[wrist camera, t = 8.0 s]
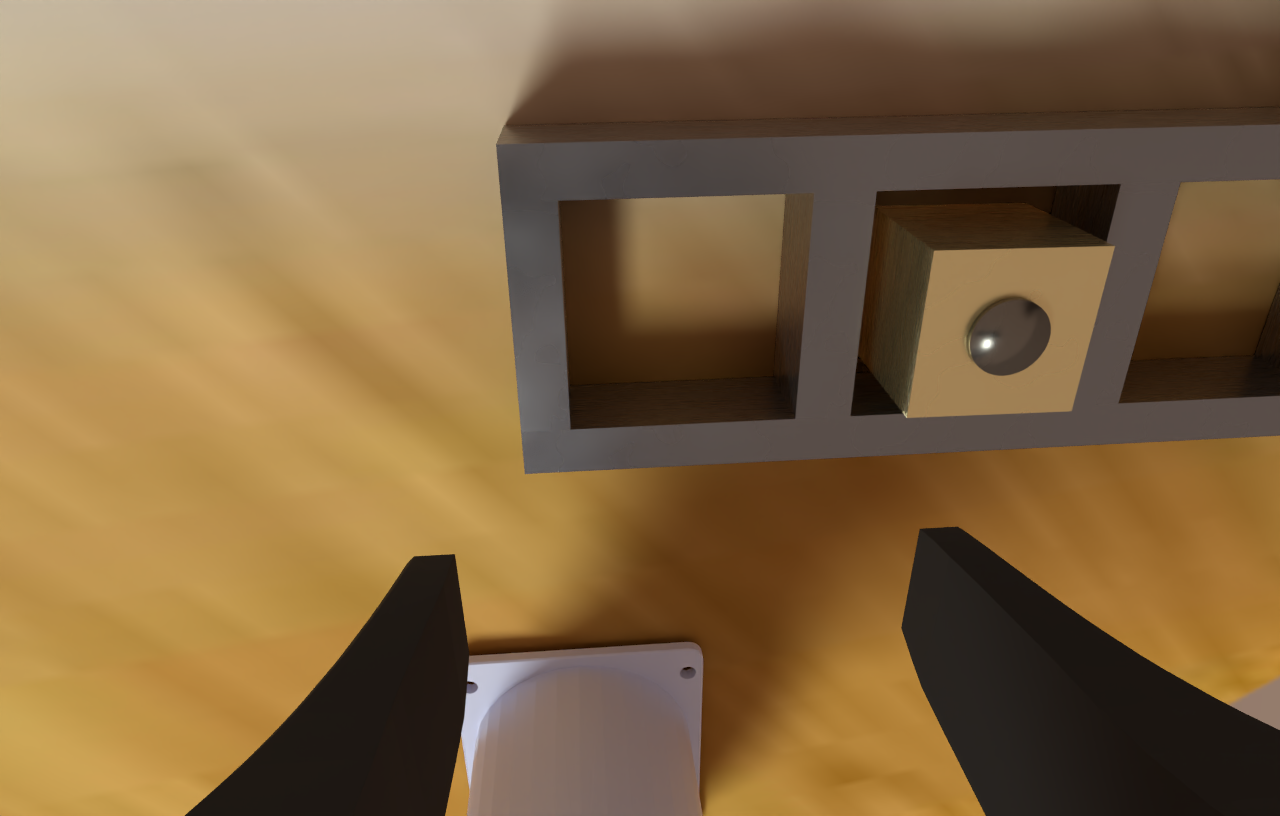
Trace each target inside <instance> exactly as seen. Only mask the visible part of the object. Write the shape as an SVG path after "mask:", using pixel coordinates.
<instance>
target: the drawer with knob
mask: <svg viewBox="0 0 1280 816" xmlns="http://www.w3.org/2000/svg"><path fill="white" fill-rule="evenodd" d="M1114 248H1115V246H1114V245H1112V244H1110V243H1108V242H1106V241H1104V240H1102V239H1100V238H1097V237H1095V236H1093V235H1091V234H1089V233H1087V232H1085V231H1083V230H1081V229H1079V228H1077V227H1075V226H1073V225H1071V224H1069V223H1067V222H1064V221H1062V220H1060V219H1058V218H1056V217H1054V216H1052V215H1050V214H1048V213H1046V212H1044V211H1042V210H1040V209H1038V208H1036V207H1033V206H1031V205H1029V204H1027V203H993V204H946V205H900V206H875V211H874V220H873V228H872V237H871V245H870V254H869V262H868V271H867V279H866V288H865V296H864V305H863V313H862V322H861V330H860V339H859V347H858V356H859V357H860V359H861V360H862V361H863V362H864V364H865V365H866V366H867V368H868V369H869V370H870V371H871V373H872V374H873V375H874V377H875V378H876V379H877V380H878V382H879V383H880V384H881V385H882V387H883V388H884V389H885V391H886V392H887V393H888V394H889V396H890V397H891V398H892V400H893V401H894V402H895V403H896V405H897V406H898V407H899V409H900V410H901V411H902V412H903V414H904V415H905V416H906V418H918V417H943V416H968V415H992V414H1017V413H1042V412H1067V411H1072V407H1073V404H1074V400H1075V396H1076V392H1077V389H1078V385H1079V381H1080V377H1081V373H1082V370H1083V366H1084V362H1085V358H1086V354H1087V351H1088V347H1089V343H1090V339H1091V335H1092V332H1093V328H1094V324H1095V320H1096V316H1097V313H1098V309H1099V305H1100V301H1101V297H1102V294H1103V290H1104V286H1105V282H1106V278H1107V275H1108V271H1109V267H1110V263H1111V259H1112V256H1113V252H1114Z"/></svg>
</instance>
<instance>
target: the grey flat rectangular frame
mask: <svg viewBox="0 0 1280 816" xmlns="http://www.w3.org/2000/svg"><path fill="white" fill-rule="evenodd" d="M496 147H497V159H498V170H499V182H500V193H501V205H502V216H503V228H504V239H505V251H506V262H507V274H508V285H509V297H510V308H511V319H512V331H513V342H514V354H515V365H516V377H517V388H518V400H519V411H520V423H521V434H522V446H523V457H524V469H525V474H532V473H552V472H571V471H591V470H611V469H630V468H650V467H670V466H689V465H709V464H729V463H748V462H768V461H788V460H807V459H827V458H847V457H866V456H886V455H906V454H925V453H945V452H965V451H984V450H1004V449H1024V448H1043V447H1063V446H1083V445H1102V444H1122V443H1142V442H1161V441H1181V440H1201V439H1220V438H1240V437H1260V436H1279V435H1280V285H1279V288H1278V290H1277V293H1276V296H1275V299H1274V302H1273V304H1272V307H1271V310H1270V313H1269V316H1268V319H1267V321H1266V324H1265V327H1264V330H1263V333H1262V335H1261V338H1260V341H1259V344H1258V347H1257V350H1256V352H1255V355H1252V356H1229V357H1206V358H1184V359H1161V360H1138V361H1130V360H1131V357H1132V353H1133V350H1134V346H1135V342H1136V339H1137V335H1138V332H1139V328H1140V325H1141V321H1142V318H1143V314H1144V311H1145V307H1146V303H1147V300H1148V296H1149V293H1150V289H1151V286H1152V282H1153V279H1154V275H1155V271H1156V268H1157V264H1158V261H1159V257H1160V254H1161V250H1162V247H1163V243H1164V239H1165V236H1166V232H1167V229H1168V225H1169V222H1170V218H1171V215H1172V211H1173V207H1174V204H1175V200H1176V197H1177V193H1178V190H1179V186H1180V183H1181V182H1201V181H1234V180H1268V179H1280V107H1258V108H1217V109H1175V110H1133V111H1091V112H1049V113H1008V114H966V115H924V116H882V117H841V118H799V119H757V120H715V121H673V122H632V123H590V124H548V125H506V126H504V127H503V129H502V132H501V134H500V137H499V139H498V141H497V144H496ZM1033 186H1057V189H1056V194H1055V199H1054V203H1053V208H1052V212H1051V215H1052V216H1054V217H1056V218H1058V219H1060V220H1062V221H1064V222H1067V223H1069V224H1071V225H1073V226H1075V227H1077V228H1079V229H1081V230H1083V231H1085V232H1087V233H1089V234H1091V235H1093V236H1095V237H1097V238H1100V239H1102V240H1104V241H1106V242H1108V243H1110V244H1112V245H1114V246H1115V248H1114V252H1113V256H1112V259H1111V263H1110V267H1109V271H1108V275H1107V278H1106V282H1105V286H1104V290H1103V294H1102V297H1101V301H1100V305H1099V309H1098V313H1097V316H1096V320H1095V324H1094V328H1093V332H1092V335H1091V339H1090V343H1089V347H1088V351H1087V354H1086V358H1085V362H1084V366H1083V370H1082V373H1081V377H1080V381H1079V385H1078V389H1077V392H1076V396H1075V400H1074V404H1073V407H1072V411H1067V412H1042V413H1017V414H992V415H968V416H943V417H918V418H906V416H905V415H904V414H903V412H902V411H901V410H900V409H899V407H898V406H897V405H896V403H895V402H894V401H893V400H892V398H891V397H890V396H889V394H888V393H887V392H886V391H885V389H884V388H883V387H882V385H881V384H880V383H879V382H878V380H877V379H876V378H875V377H874V375H873V374H872V373H871V372H867V373H856V364H857V356H858V347H859V339H860V330H861V322H862V313H863V305H864V296H865V288H866V279H867V271H868V262H869V254H870V245H871V237H872V228H873V220H874V211H875V203H876V194H877V191H899V190H933V189H966V188H1000V187H1033ZM765 194H786V198H785V212H784V227H783V242H782V256H781V271H780V286H779V300H778V315H777V330H776V344H775V359H774V374H773V377H754V378H731V379H709V380H686V381H663V382H641V383H618V384H596V385H573V386H570V375H569V357H568V339H567V321H566V303H565V284H564V266H563V248H562V230H561V212H560V201H564V200H598V199H631V198H665V197H698V196H732V195H765Z"/></svg>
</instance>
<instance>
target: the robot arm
mask: <svg viewBox="0 0 1280 816" xmlns="http://www.w3.org/2000/svg"><path fill="white" fill-rule="evenodd" d="M901 628H902V631H903V634H904V637H905V640H906V643H907V646H908V649H909V652H910V655H911V658H912V661H913V664H914V667H915V670H916V672H917V675H918V678H919V681H920V684H921V686H922V689H923V691H924V693H925V695H926V697H927V699H928V701H929V703H930V705H931V707H932V709H933V711H934V713H935V715H936V717H937V719H938V721H939V723H940V725H941V727H942V730H943V732H944V734H945V736H946V738H947V740H948V742H949V743H950V745H951V747H952V749H953V751H954V753H955V755H956V757H957V759H958V761H959V763H960V765H961V767H962V769H963V771H964V773H965V775H966V777H967V779H968V781H969V783H970V785H971V787H972V789H973V791H974V793H975V795H976V797H977V799H978V801H979V803H980V805H981V807H982V809H983V811H984V813H985V815H986V816H1280V730H1278V729H1276V728H1274V727H1272V726H1270V725H1268V724H1265V723H1263V722H1261V721H1259V720H1257V719H1255V718H1253V717H1251V716H1249V715H1247V714H1245V713H1243V712H1241V711H1239V710H1237V709H1235V708H1233V707H1231V706H1229V705H1227V704H1226V703H1224V702H1222V701H1220V700H1218V699H1216V698H1214V697H1212V696H1210V695H1209V694H1207V693H1205V692H1203V691H1202V690H1200V689H1198V688H1196V687H1194V686H1193V685H1191V684H1189V683H1187V682H1186V681H1184V680H1182V679H1180V678H1178V677H1177V676H1175V675H1173V674H1171V673H1170V672H1168V671H1166V670H1164V669H1163V668H1161V667H1159V666H1158V665H1156V664H1154V663H1153V662H1151V661H1149V660H1148V659H1146V658H1144V657H1143V656H1141V655H1140V654H1138V653H1136V652H1135V651H1133V650H1132V649H1130V648H1129V647H1127V646H1126V645H1124V644H1123V643H1121V642H1119V641H1118V640H1116V639H1115V638H1113V637H1112V636H1110V635H1109V634H1107V633H1106V632H1104V631H1102V630H1101V629H1099V628H1098V627H1096V626H1095V625H1094V624H1092V623H1091V622H1089V621H1088V620H1086V619H1085V618H1083V617H1082V616H1080V615H1079V614H1077V613H1076V612H1075V611H1073V610H1072V609H1070V608H1069V607H1068V606H1066V605H1065V604H1063V603H1062V602H1061V601H1059V600H1058V599H1056V598H1055V597H1054V596H1052V595H1051V594H1049V593H1048V592H1047V591H1045V590H1044V589H1043V588H1041V587H1040V586H1038V585H1037V584H1036V583H1034V582H1033V581H1032V580H1030V579H1029V578H1028V577H1026V576H1025V575H1024V574H1022V573H1021V572H1020V571H1018V570H1017V569H1016V568H1014V567H1013V566H1011V565H1010V564H1009V563H1007V562H1006V561H1005V560H1003V559H1002V558H1001V557H999V556H998V555H997V554H995V553H994V552H993V551H991V550H990V549H989V548H987V547H986V546H985V545H983V544H982V543H981V542H979V541H978V540H976V539H975V538H974V537H972V536H971V535H969V534H968V533H966V532H965V531H964V530H962V529H961V528H959V527H944V528H926V529H920V531H919V536H918V542H917V547H916V552H915V558H914V563H913V568H912V574H911V579H910V585H909V590H908V595H907V601H906V606H905V611H904V617H903V622H902V627H901ZM685 667H692V668H691V669H688V670H682V669H683V668H685ZM468 681H470V682H474V683H475V684H467V682H468ZM702 686H703V655H702V650H701V648H700V647H699V645H698V644H695V643H693V642H677V643H661V644H646V645H630V646H615V647H599V648H584V649H568V650H553V651H537V652H522V653H506V654H491V655H475V656H469V649H468V642H467V635H466V628H465V621H464V614H463V607H462V601H461V594H460V587H459V580H458V573H457V566H456V559H455V554H451V555H433V556H415V557H413V558H412V559H411V560H410V561H409V562H408V563H407V565H406V566H405V568H404V569H403V571H402V572H401V574H400V575H399V577H398V578H397V580H396V581H395V583H394V584H393V586H392V587H391V589H390V590H389V592H388V593H387V595H386V596H385V597H384V599H383V600H382V602H381V603H380V605H379V606H378V607H377V609H376V610H375V612H374V613H373V614H372V616H371V617H370V619H369V620H368V621H367V623H366V624H365V625H364V627H363V628H362V629H361V631H360V632H359V633H358V634H357V636H356V637H355V638H354V640H353V641H352V642H351V644H350V645H349V646H348V648H347V649H346V650H345V652H344V653H343V654H342V655H341V657H340V658H339V659H338V660H337V662H336V663H335V664H334V665H333V667H332V668H331V669H330V670H329V671H328V672H327V674H326V675H325V676H324V677H323V678H322V680H321V681H320V682H319V683H318V684H317V685H316V687H315V688H314V689H313V690H312V691H311V692H310V694H309V695H308V696H307V697H306V698H305V700H304V701H303V702H302V703H301V704H300V705H299V706H298V707H297V709H296V710H295V711H294V712H293V713H292V714H291V715H290V716H289V717H288V718H287V719H286V721H285V722H284V723H283V724H282V725H281V726H280V727H279V728H278V729H277V730H276V731H275V732H274V733H273V734H272V735H271V736H270V737H269V738H268V739H267V740H266V741H265V742H264V743H263V744H262V745H261V746H260V747H259V748H258V749H257V750H256V751H255V752H254V753H253V754H252V755H251V756H250V757H249V758H248V759H247V760H246V761H245V762H244V763H243V764H242V765H241V766H240V767H239V768H238V769H236V770H235V771H234V772H233V773H232V774H231V775H230V776H229V777H228V778H227V779H226V780H224V781H223V782H222V783H221V784H220V785H219V786H218V787H217V788H216V789H215V790H213V791H212V792H211V793H210V794H209V795H208V796H207V797H205V798H204V799H203V800H202V801H201V802H200V803H199V804H197V805H196V806H195V807H194V808H193V809H192V810H191V811H189V812H188V813H187V814H186V815H185V816H445V813H446V808H447V803H448V798H449V793H450V788H451V783H452V778H453V773H454V768H455V763H456V758H457V753H458V748H459V743H460V738H461V737H462V743H463V750H464V756H465V763H466V769H467V776H468V782H469V789H470V794H469V802H468V811H467V816H703V815H702V809H701V802H700V796H699V782H700V750H701V718H702Z"/></svg>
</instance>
